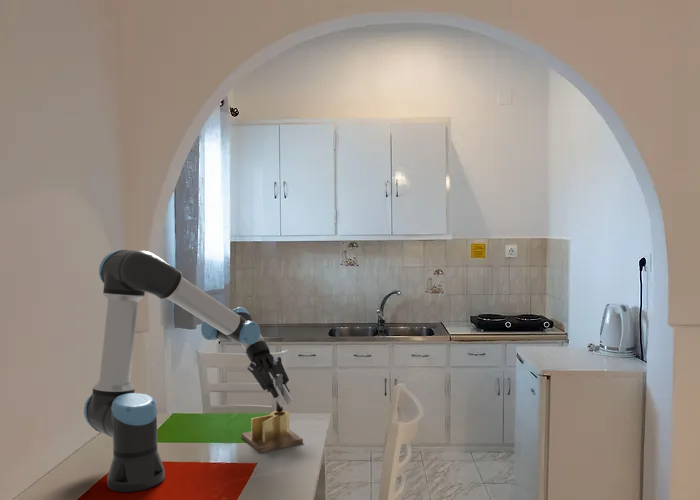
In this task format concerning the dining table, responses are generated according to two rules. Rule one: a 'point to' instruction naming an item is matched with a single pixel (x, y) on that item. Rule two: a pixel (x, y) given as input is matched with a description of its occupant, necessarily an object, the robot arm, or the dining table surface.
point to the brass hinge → (270, 426)
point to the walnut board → (272, 442)
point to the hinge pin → (280, 386)
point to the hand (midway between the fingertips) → (286, 403)
